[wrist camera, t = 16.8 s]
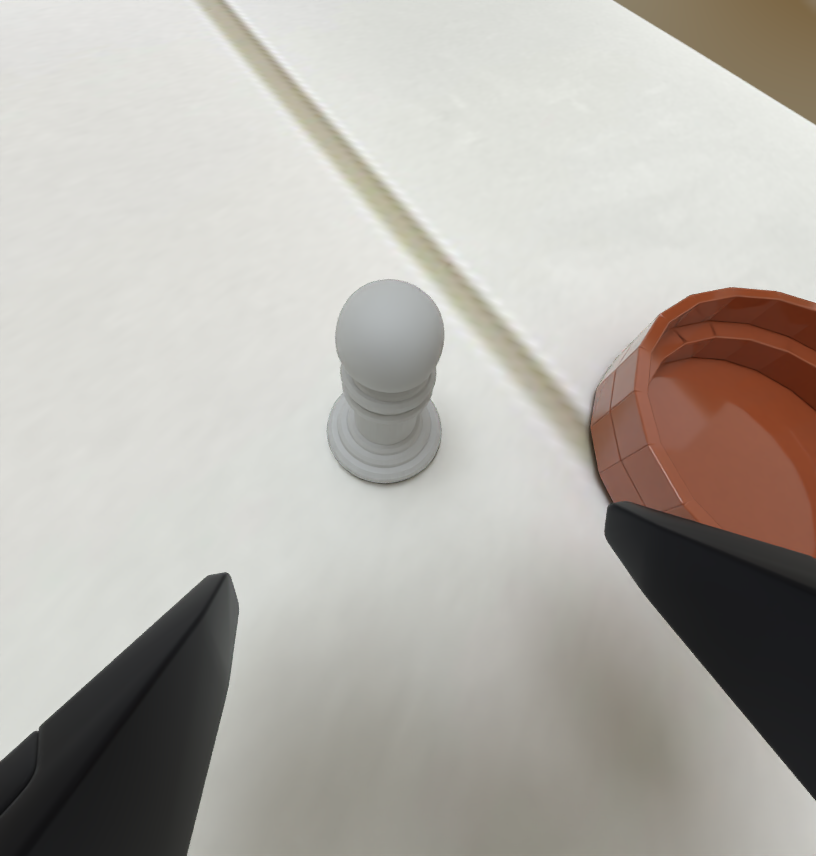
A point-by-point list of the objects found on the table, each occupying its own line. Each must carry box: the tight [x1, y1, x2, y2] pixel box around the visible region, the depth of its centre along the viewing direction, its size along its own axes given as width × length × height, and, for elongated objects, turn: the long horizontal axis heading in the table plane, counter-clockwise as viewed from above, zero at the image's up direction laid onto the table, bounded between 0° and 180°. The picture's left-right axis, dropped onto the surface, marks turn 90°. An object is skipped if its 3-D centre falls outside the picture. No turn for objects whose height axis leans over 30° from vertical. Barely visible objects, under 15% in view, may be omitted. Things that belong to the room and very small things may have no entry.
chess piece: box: [327, 279, 444, 483], centre depth 14 cm, size 5×5×9 cm
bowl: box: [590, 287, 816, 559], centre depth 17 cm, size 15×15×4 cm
